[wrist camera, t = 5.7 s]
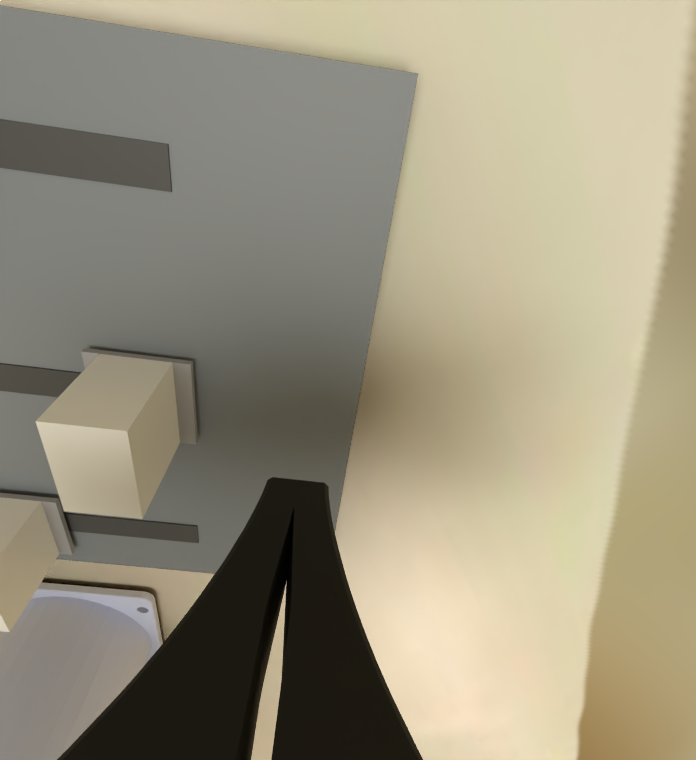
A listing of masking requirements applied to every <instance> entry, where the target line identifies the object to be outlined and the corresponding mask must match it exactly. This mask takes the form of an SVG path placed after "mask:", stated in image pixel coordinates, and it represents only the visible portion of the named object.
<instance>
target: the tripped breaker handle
mask: <svg viewBox="0 0 696 760" xmlns="http://www.w3.org/2000/svg"><path fill="white" fill-rule="evenodd" d="M81 353H82V358H83V362H84V367H85V370H84V371H83V372H82V373H81V374H80V375H79V376H78V377H77V378H76V379H75V380H74V381H73V382H72V383H71V384H70V385H69V386H68V387H67V389H66V390H65V391H64V392H63V393H62V394H61V395H60V396H59V397H58V398H57V399H56V400H55V401H54V402H53V403H52V404H51V405H50V406H49V407H48V409H47V410H46V411H45V412H44V413H43V414H42V415H41V416H40V417H39V418H38V419H37V420H36V425H37V428H38V431H39V434H40V437H41V440H42V444H43V447H44V450H45V453H46V456H47V459H48V463H49V466H50V469H51V472H52V475H53V478H54V481H55V485H56V488H57V491H58V494H59V497H60V500H61V504H62V507H63V510H64V511H66V512H76V513H86V514H97V515H107V516H117V517H127V518H137V519H143V517H144V515H145V513H146V511H147V509H148V507H149V505H150V503H151V501H152V499H153V497H154V495H155V493H156V491H157V489H158V487H159V485H160V483H161V481H162V479H163V477H164V474H165V472H166V470H167V468H168V466H169V464H170V462H171V460H172V458H173V456H174V454H175V452H176V450H177V448H178V446H179V444H180V443H187V444H196V443H197V441H198V435H197V420H196V404H195V389H194V374H193V361H188V360H180V359H172V358H163V357H155V356H147V355H138V354H130V353H122V352H113V351H105V350H97V349H88V348H84V349H83V350H82V351H81Z"/></svg>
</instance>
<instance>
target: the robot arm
mask: <svg viewBox="0 0 696 760" xmlns="http://www.w3.org/2000/svg"><path fill="white" fill-rule="evenodd" d="M286 581H287V586H286V606H285V626H284V646H283V666H282V683H281V691H280V698H279V706H278V714H277V722H276V729H275V737H274V745H273V753H272V760H423V759H422V757H421V755H420V753H419V751H418V749H417V747H416V745H415V743H414V741H413V739H412V737H411V735H410V733H409V730H408V728H407V726H406V724H405V722H404V720H403V718H402V716H401V714H400V712H399V710H398V708H397V706H396V704H395V702H394V700H393V698H392V695H391V693H390V691H389V689H388V687H387V684H386V682H385V680H384V677H383V675H382V673H381V670H380V668H379V666H378V664H377V661H376V659H375V656H374V654H373V651H372V649H371V646H370V644H369V641H368V639H367V636H366V634H365V631H364V628H363V626H362V623H361V620H360V618H359V615H358V612H357V609H356V606H355V603H354V600H353V597H352V594H351V591H350V588H349V585H348V582H347V578H346V575H345V571H344V568H343V564H342V560H341V557H340V553H339V549H338V545H337V541H336V537H335V532H334V527H333V522H332V517H331V510H330V502H329V487H328V486H327V485H326V484H325V483H323V482H314V481H304V480H295V479H286V478H277V477H272V478H270V479H268V480H267V482H266V485H265V488H264V490H263V492H262V495H261V497H260V499H259V501H258V503H257V505H256V507H255V509H254V511H253V513H252V515H251V517H250V518H249V520H248V522H247V524H246V526H245V528H244V529H243V531H242V532H241V534H240V536H239V537H238V539H237V541H236V542H235V544H234V546H233V547H232V549H231V551H230V552H229V554H228V555H227V557H226V559H225V560H224V562H223V563H222V565H221V566H220V567H219V569H218V570H217V572H216V573H215V575H214V576H213V578H212V579H211V581H210V582H209V583H208V585H207V586H206V588H205V589H204V591H203V592H202V594H201V595H200V596H199V598H198V599H197V600H196V602H195V603H194V604H193V606H192V607H191V608H190V610H189V611H188V612H187V614H186V615H185V616H184V618H183V619H182V620H181V621H180V623H179V624H178V625H177V627H176V628H175V629H174V630H173V632H172V633H171V634H170V635H169V637H168V638H167V639H166V640H165V642H164V643H163V641H162V636H161V630H160V625H159V619H158V613H157V608H156V602H155V598H154V596H153V595H152V594H151V593H148V592H144V591H134V590H123V589H111V588H100V587H89V586H78V585H66V584H55V583H44V582H41V584H40V585H39V587H38V588H37V590H36V591H35V593H34V595H33V596H32V598H31V599H30V601H29V603H28V604H27V606H26V607H25V609H24V610H23V612H22V614H21V615H20V617H19V618H18V620H17V622H16V623H15V625H14V626H13V628H12V629H11V631H10V632H2V631H0V760H251V755H252V748H253V742H254V735H255V728H256V722H257V715H258V708H259V702H260V697H261V692H262V687H263V682H264V677H265V673H266V668H267V664H268V660H269V655H270V651H271V646H272V642H273V638H274V633H275V629H276V625H277V620H278V616H279V611H280V607H281V603H282V598H283V594H284V590H285V585H286Z"/></svg>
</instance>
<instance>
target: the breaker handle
mask: <svg viewBox="0 0 696 760" xmlns="http://www.w3.org/2000/svg"><path fill="white" fill-rule="evenodd" d="M74 552H75V548H74V545H73V542H72V539H71V536H70V533H69V529H68V526H67V523H66V520H65V517H64V514H63V511H62V508H61V504H60V501H59V498H49V497H39V496H29V495H19V494H9V493H0V631H2V632H10V631H11V629H12V628H13V626H14V625H15V623H16V622H17V620H18V618H19V617H20V615H21V614H22V612H23V610H24V609H25V607H26V606H27V604H28V603H29V601H30V599H31V598H32V596H33V595H34V593H35V591H36V590H37V588H38V587H39V585H40V584H41V582H42V580H43V579H44V577H45V576H46V574H47V572H48V571H49V569H50V568H51V566H52V565H53V563H54V561H55V560H56V558H57V557H58V555H59V554H67V555H73V553H74Z"/></svg>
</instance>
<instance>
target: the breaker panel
mask: <svg viewBox="0 0 696 760" xmlns="http://www.w3.org/2000/svg"><path fill="white" fill-rule="evenodd" d="M417 77H418V74H417V73H411V72H405V71H399V70H392V69H386V68H380V67H374V66H368V65H362V64H356V63H350V62H344V61H337V60H331V59H325V58H319V57H313V56H307V55H301V54H295V53H289V52H282V51H276V50H270V49H264V48H258V47H252V46H246V45H240V44H234V43H227V42H221V41H215V40H209V39H203V38H197V37H191V36H185V35H178V34H172V33H166V32H160V31H154V30H148V29H142V28H136V27H130V26H123V25H117V24H111V23H105V22H99V21H93V20H87V19H81V18H75V17H68V16H62V15H56V14H50V13H44V12H38V11H32V10H26V9H20V8H13V7H7V6H1V5H0V493H9V494H19V495H29V496H39V497H49V498H59V501H60V504H61V500H60V497H59V494H58V491H57V488H56V485H55V481H54V478H53V475H52V472H51V469H50V466H49V463H48V459H47V456H46V453H45V450H44V447H43V444H42V440H41V437H40V434H39V431H38V428H37V425H36V420H37V419H38V418H39V417H40V416H41V415H42V414H43V413H44V412H45V411H46V410H47V409H48V407H49V406H50V405H51V404H52V403H53V402H54V401H55V400H56V399H57V398H58V397H59V396H60V395H61V394H62V393H63V392H64V391H65V390H66V389H67V387H68V386H69V385H70V384H71V383H72V382H73V381H74V380H75V379H76V378H77V377H78V376H79V375H80V374H81V373H82V372H83V371H84V370H85V367H84V362H83V358H82V353H81V351H82V350H83V349H84V348H88V349H97V350H105V351H113V352H122V353H130V354H138V355H147V356H155V357H163V358H172V359H180V360H188V361H193V374H194V389H195V404H196V420H197V435H198V441H197V443H196V444H187V443H180V444H179V446H178V448H177V450H176V452H175V454H174V456H173V458H172V460H171V462H170V464H169V466H168V468H167V470H166V472H165V474H164V477H163V479H162V481H161V483H160V485H159V487H158V489H157V491H156V493H155V495H154V497H153V499H152V501H151V503H150V505H149V507H148V509H147V511H146V513H145V515H144V517H143V519H137V518H127V517H117V516H107V515H97V514H86V513H76V512H66V511H64V510H63V507H62V504H61V508H62V511H63V514H64V517H65V520H66V523H67V526H68V529H69V533H70V536H71V539H72V542H73V545H74V548H75V552H74V553H73V555H67V554H59V555H58V557H57V558H56V559H61V560H72V561H83V562H94V563H105V564H116V565H127V566H137V567H148V568H159V569H170V570H181V571H192V572H203V573H214V574H215V573H216V572H217V570H218V569H219V567H220V566H221V565H222V563H223V562H224V560H225V559H226V557H227V555H228V554H229V552H230V551H231V549H232V547H233V546H234V544H235V542H236V541H237V539H238V537H239V536H240V534H241V532H242V531H243V529H244V528H245V526H246V524H247V522H248V520H249V518H250V517H251V515H252V513H253V511H254V509H255V507H256V505H257V503H258V501H259V499H260V497H261V495H262V492H263V490H264V488H265V485H266V482H267V480H268V479H270V478H272V477H277V478H286V479H295V480H304V481H314V482H323V483H325V484H326V485H327V486H328V487H329V502H330V510H331V517H332V522H333V527H334V532H335V528H336V522H337V517H338V511H339V506H340V500H341V495H342V489H343V484H344V478H345V473H346V467H347V462H348V456H349V451H350V445H351V440H352V434H353V429H354V423H355V418H356V412H357V407H358V401H359V396H360V390H361V385H362V379H363V374H364V368H365V363H366V357H367V352H368V346H369V341H370V335H371V330H372V324H373V319H374V313H375V308H376V302H377V297H378V291H379V286H380V280H381V275H382V269H383V264H384V258H385V253H386V247H387V242H388V236H389V231H390V225H391V220H392V214H393V209H394V203H395V198H396V192H397V187H398V181H399V176H400V170H401V165H402V159H403V154H404V148H405V143H406V137H407V132H408V126H409V121H410V115H411V110H412V104H413V99H414V93H415V88H416V82H417Z"/></svg>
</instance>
